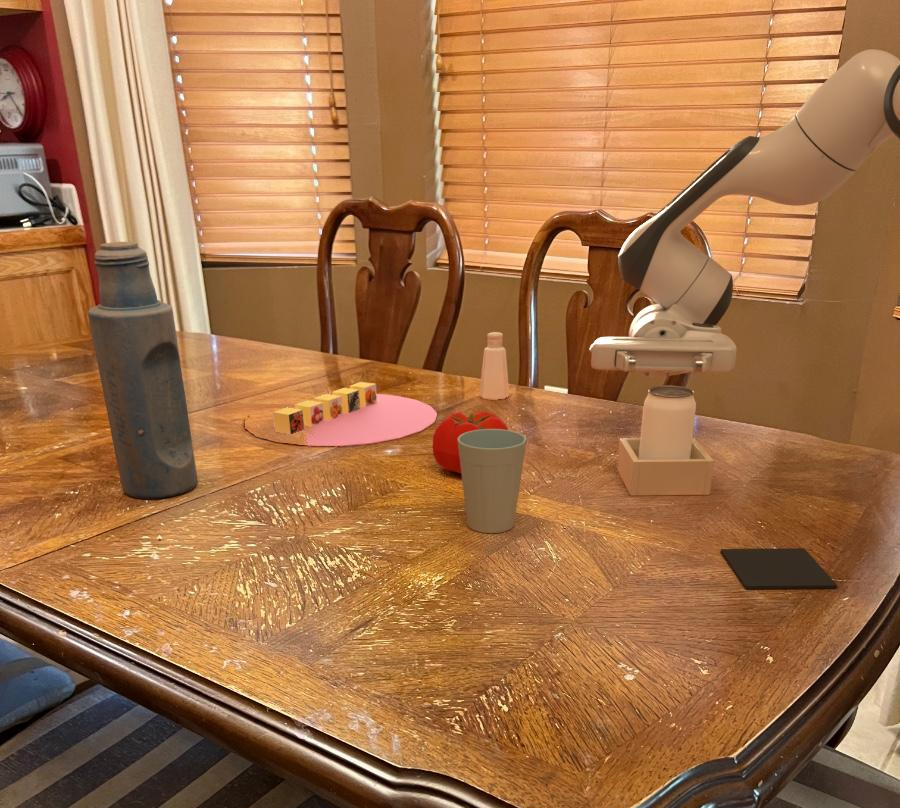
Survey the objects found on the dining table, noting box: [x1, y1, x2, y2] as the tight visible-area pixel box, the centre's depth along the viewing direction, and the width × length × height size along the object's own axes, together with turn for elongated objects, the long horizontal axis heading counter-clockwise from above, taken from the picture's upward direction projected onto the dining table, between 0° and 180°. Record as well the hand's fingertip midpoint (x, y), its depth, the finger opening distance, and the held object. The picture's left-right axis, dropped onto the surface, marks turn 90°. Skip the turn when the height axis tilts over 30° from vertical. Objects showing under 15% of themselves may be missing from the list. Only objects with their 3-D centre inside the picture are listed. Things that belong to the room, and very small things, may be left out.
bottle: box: [87, 241, 199, 500], centre depth 107 cm, size 10×10×30 cm
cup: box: [458, 429, 527, 534], centre depth 98 cm, size 8×8×10 cm
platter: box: [273, 381, 438, 448], centre depth 142 cm, size 32×32×3 cm
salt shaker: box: [478, 331, 510, 401], centre depth 151 cm, size 5×5×11 cm
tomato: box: [432, 410, 509, 475], centre depth 117 cm, size 11×11×8 cm
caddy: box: [616, 436, 715, 497], centre depth 112 cm, size 10×10×4 cm
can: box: [638, 385, 697, 460], centre depth 110 cm, size 6×6×12 cm
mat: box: [720, 547, 838, 590], centre depth 89 cm, size 9×9×1 cm
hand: (665, 366), depth 118 cm, fingers open, 8 cm apart
